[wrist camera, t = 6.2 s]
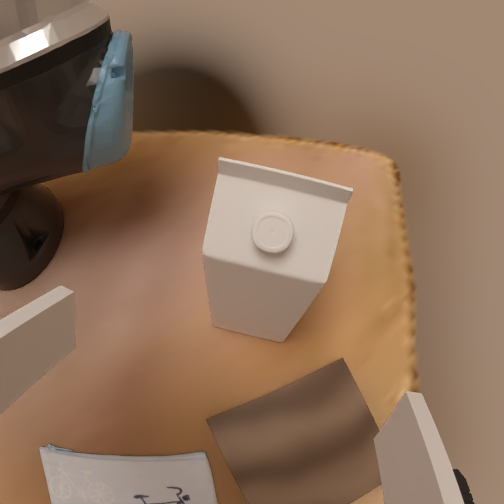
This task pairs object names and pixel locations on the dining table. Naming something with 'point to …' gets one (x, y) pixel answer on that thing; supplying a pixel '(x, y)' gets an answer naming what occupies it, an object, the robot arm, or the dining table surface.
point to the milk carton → (268, 246)
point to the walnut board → (302, 442)
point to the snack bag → (127, 478)
